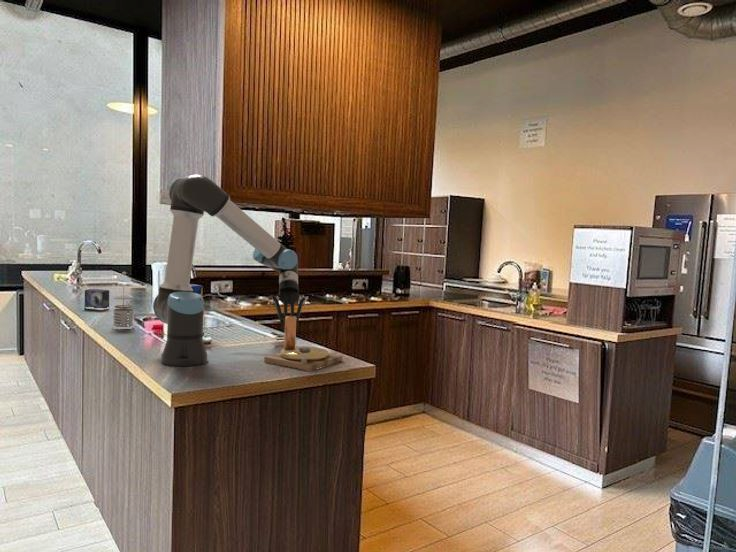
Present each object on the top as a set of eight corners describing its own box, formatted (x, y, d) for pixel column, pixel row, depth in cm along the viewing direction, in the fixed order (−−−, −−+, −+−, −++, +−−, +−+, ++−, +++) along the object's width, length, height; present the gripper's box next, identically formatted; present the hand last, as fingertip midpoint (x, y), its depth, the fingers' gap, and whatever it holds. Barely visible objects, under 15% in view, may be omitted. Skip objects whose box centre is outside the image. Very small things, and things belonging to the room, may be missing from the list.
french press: (127, 325, 250) (128, 270, 248) (141, 328, 244) (143, 272, 242) (106, 327, 242) (107, 271, 240) (120, 331, 236) (121, 273, 234)
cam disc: (309, 363, 186) (311, 323, 185) (270, 355, 195) (272, 317, 194) (336, 355, 201) (338, 318, 200) (299, 348, 210) (300, 313, 208)
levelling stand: (310, 371, 185) (311, 356, 184) (264, 362, 194) (264, 348, 194) (342, 361, 202) (342, 347, 202) (298, 352, 212) (298, 340, 211)
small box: (83, 309, 288) (83, 289, 287) (91, 308, 294) (92, 288, 293) (101, 311, 286) (102, 291, 285) (109, 309, 292) (110, 289, 292)
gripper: (272, 278, 215) (271, 328, 200) (306, 279, 217) (307, 328, 202) (271, 290, 220) (270, 339, 205) (304, 291, 223) (305, 340, 208)
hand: (289, 334), depth 204 cm, fingers closed
